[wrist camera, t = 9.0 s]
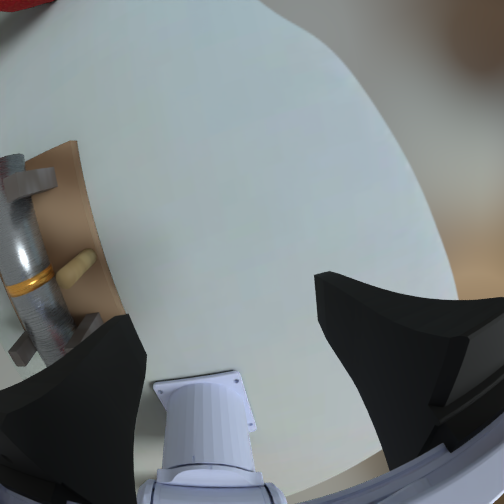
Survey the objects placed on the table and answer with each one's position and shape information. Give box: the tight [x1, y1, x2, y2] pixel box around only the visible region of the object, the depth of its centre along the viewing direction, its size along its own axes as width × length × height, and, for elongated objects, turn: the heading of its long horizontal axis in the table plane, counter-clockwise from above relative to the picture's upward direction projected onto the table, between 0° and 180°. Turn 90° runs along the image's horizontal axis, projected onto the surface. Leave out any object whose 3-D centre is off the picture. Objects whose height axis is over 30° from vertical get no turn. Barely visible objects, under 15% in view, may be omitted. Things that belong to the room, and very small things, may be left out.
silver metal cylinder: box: [0, 154, 77, 367], centre depth 15 cm, size 15×4×4 cm, turn 10°
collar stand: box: [0, 141, 126, 366], centre depth 15 cm, size 15×11×6 cm
